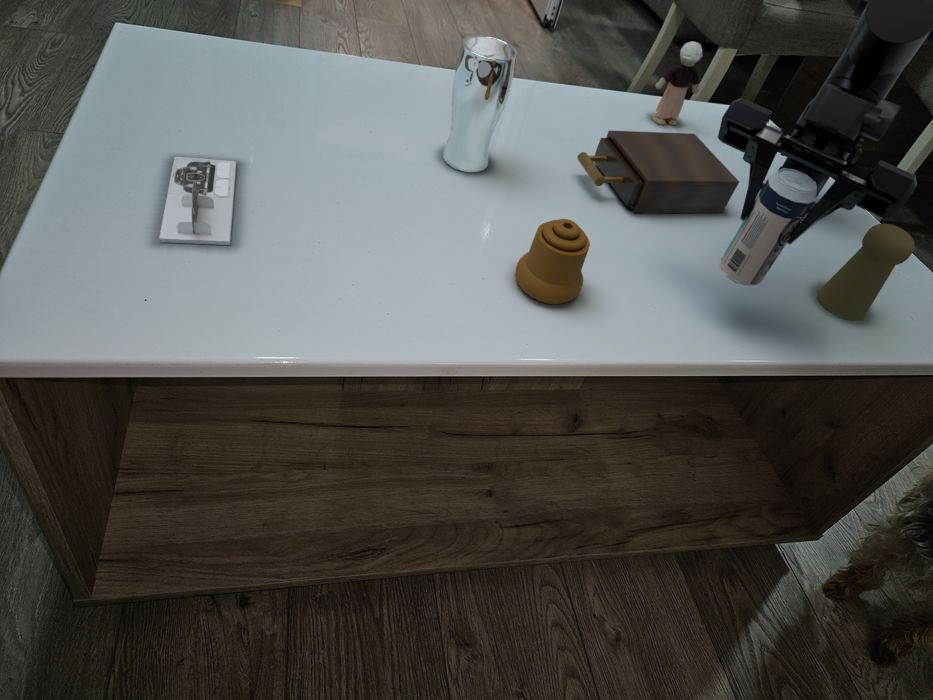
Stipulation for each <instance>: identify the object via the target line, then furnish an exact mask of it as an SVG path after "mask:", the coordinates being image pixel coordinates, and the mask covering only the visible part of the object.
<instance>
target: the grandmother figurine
mask: <svg viewBox="0 0 933 700" xmlns="http://www.w3.org/2000/svg"><path fill="white" fill-rule="evenodd" d="M679 56H680V63H681V65H675V66H673V67H672V66H671V68H669V69H668V70H667V71H666V72H665V73H664V74H662V75H661V78H660V79H659V81H658V82H656V83H655V89H657V90H661V89H662V88H663V86H664V85H666V84H667V83H668V84H667V86H666V89H665V90H664V93H663V95H662V97H661V98H660V101H659V102H658V103H657V106H656V109H655V112H656V113H653V115H651V119H652V120H653V121H654V122H655V123H656V124H658V125H661V126H665V125H666V124H668V125H671V126H677V125H678V120H677V119H678V118H679V116H680V114H681V111H682V109H683V106H684V102H685V98H686V96H687V95H686V94H687V91H688V88H689V86H690V84H691V87H692V91H691V92H692V93H693V94H694V95H697V94H699V92H700V88H699V87H700V77H699V76H700V75H699V73H698V70H697V68H695V67H693V66H694V65H696V63H697V62H699V61H701V59H702V58H703V48H702V45H701V43H699V42H697V41H693V40H692V41H688V42H686V43H684V45H683V46H682V47H681V48H680V53H679Z"/></svg>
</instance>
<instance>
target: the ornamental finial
mask: <svg viewBox="0 0 933 700" xmlns="http://www.w3.org/2000/svg"><path fill="white" fill-rule="evenodd" d="M590 247H591V242H590V239H589V238H588V236H587V234H586V233H585V231H584V230H583V229H582V228H581V227H580V226H579V225H578V224H577V222H575V221H574V220H571V219H568V218H559V219H553V220H549V221H546V222H543V223H541V224H540V225H539V226H538V228H537V229H536V232H535V234H534V237H533V240H532V242H531V245H530V247H529V250H528V252H526V253H525V254H524V255H522V256H521V257H520V258H519V260H518V262H517V263H516V266H515V278H516V282H517V284H518V286H519V287H520V288H521V290H522V291H523V292H524V293H525V294H526V295H527V296H529V297H530V298H532V299H534V300H536V301H538V302H541V303H545V304H550V305H560V304H565V303H569V302H570V301H572V300H574V299H575V298H576V297H578V295H580V293H581V291H582V289H583V285H584V276H583V272H582V269H583V267H584V263H585V261H586V258H587V255H588V252H589V251H590V250H589V249H590Z"/></svg>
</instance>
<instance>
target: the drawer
mask: <svg viewBox="0 0 933 700" xmlns="http://www.w3.org/2000/svg"><path fill="white" fill-rule="evenodd" d="M576 159H577V161H578V163H579V164H580V166H581V167H582V168H583V169H584V171H585V172H586V174H587V175H588V177H589V178H590V179H591V181H592V183H593V184H594V185H595V186H596V187H601V186H603V185H604V184H610V185H611V186H612V187H613V189H614V190H615V192H616V193H617V195H618V196H619V198H620V199H621V200H622V201H623V203H624V204H625V206H626V207H629V206H634V205H635V203H636V201H637V198H638V197H639V195H640V193H641V190H642V188H643V186H644V184H645V181H644V180H643V179H642V178H641V176H640V175H639V174H638V172H637V171H636V170H635V169H634V167H633V166H632V165H631V164H630V162H629V161H628V160H627V158H626V157H625V156H624V155H623V153H622V152H621V151H620V150H619V148H618V147H617V146H616V144H615V146H614V145H613V143H612V142H611V141H610V139H609V138H606V137H600V139H599V142H598V145H597V147H596V150H595V153H594V154H593V155H589V154H588V153H587V152H585V151H581V152H579V154H578V155H577V158H576ZM601 172H602V173H601Z"/></svg>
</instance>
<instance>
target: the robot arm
mask: <svg viewBox="0 0 933 700" xmlns="http://www.w3.org/2000/svg"><path fill="white" fill-rule="evenodd" d="M853 17H855V18H858V21H857V23H856V25H855V27H854V29H853V31H852V33H851V35H850V37H849V39H848V41H847V44H846V48H845V49H844V50H843V53H842V54H841V56H840V57H839V58H838V60H837V62H836V63H835V65H834V66H833V68H832V70H831V71H830V73H829V74H828V76H827V77H826V79H825V81H824V82H823V84H822V85H821V87H820V89H819V90H818V92H817V93H816V95H815V97H814V98H813V99H811V100H810V101H809V102H808V103H807V105H806V106H805V108H804V109H803V111H802V113H801V115H799V117H798V119H797V121H795V122H796V123H795V124H794V127H793V131H792V133H791V134H790V133H788V132H786V131H785V130H784V129H783V128H781V127H779V126H777V125H776V124H772V123H770V121H771V118H772V115H773V110H771V109H768V108H766V107H764V106H761V105H759V104H757V103H755V102H752V101H750V100H748V99H746V98H743V97H740V98H737V99H735V100H733V101H732V102H731V103H730V104H729V106H728V108H727V109H726V111H725V112H724V114H723V115H722V117H721V121H720V126H719V130H718V135H717V139H718V140H719V141H720V142H721V143H722V144H725V145H727V146H729V147H731V148H733V149H735V150H737V151H740V152H742V153H743V155H742V160H743V161H744V162H745V163H747V164H749V175H748V184H747V189H746V195H745V199H744V202H743V206H742V210H741V214H740V218H739V219H740V221H742V222H743V221H744V220H745V218H746V217H747V215H748V213H749V212H750V210H751V208H752V206H753V204H754V202H755V200H756V199H757V197H758V195H759V193H760V192H761V190H762V188H763V187H764V185H765V183H766V182H765V180H766V177H767V175H768V173H769V171H770V168H771V166H772V164H773V162H774V160H775V157H776V155H777V153H779V155H780V156H782V157H786V159H785V160H784V162H783V163H782V165H781V166H780V167H779V168H778V170H777V171H779V170H781V169H783V168H787V169H795V170H797V171H799V172H802V173H804V174H806V175H808V176H809V177H810V178H811V179H813V180H814V181H815V182H816V186H817V191H816V198H817V197H818V196H819V195H820V193H821V191H822V190H823V188H824V187H825V185H826V183H827V182H828V180H829V179H830V178H831V179H833V180H834V182H832V184H831V185H830V187H829V188H828V189H827V190H826V191H825V192H824V194H823V195H822V197H820V199H819V200H818V201H817V203H816V202H815V201H814V202H813V204H812V205H811V207H810V208H809V210H808V212H807V213H806V215H805V216H804V218H803V219H802V221H801V222H800V224H799V225H798V226H797V228H796V229H795V230H794V232H793V233H792V235H791V236H790V238H789V240H788V241H787V244H788V245H791V244H793V243H794V242H795V241H797V240H798V239H799V238H800V237H801V236H803V235H804V234H805V233H806V232H807V231H808V230H810V229H811V228H812V227H813V226H815V225H816V224H817V223H819V222H820V221H821V220H823V219H824V218H826V217H828V216H830V215H831V214H833V213H835V212H836V211H837V210H839V209H844V210H846V211H852V210H853V209H854V208H855V207H858V208H860V209H862V210H865V211H867V212H869V213H871V214H872V215H875V216H877V217H879V218H882V219H883V218H884V219H889V218H891V217H892V216H893V215H894V214H895V213H896V212H898V210H900V209H901V208H902V207H903V206H904V205H905V204H906V203H907V202H908V200H909V199H910V197H911V196H912V195H913V193H914V191H915V190H916V188H917V186H918V181H917V176H916V174H914V173H911V172H909V171H906V170H905V169H902V168H900V167H898V166H896V165H893V164H891V163H889V162H886V161H884V160H882V159H880V160H879V161H878V162H877V163H876V165H875V166H874V167H873V168H872V169H871V170H869V169H867V168H865V167H863V166H861V165H859V164H856V163H857V161H859V158H860V157H861V156H862V154H863V151H862V146H863V145H862V144H863V142H864V140H865V139H863V138H862V137H866V138H868V139H870V140H872V141H875V142H879V141H880V140H881V139H882V138H883V137H884V135H885V134H886V132H887V131H888V130H889V128H890V127H891V125H892V123H893V121H894V120H895V119H896V117H897V115H898V113H899V112H900V111H901V109H902V106H901V105H899V104H896V103H895V102H892V101H889V100H886V97H887V96H888V94H889V93H890V92H891V89H892V88H893V86H894V85H895V83H896V81H897V80H898V79H899V77H900V75H901V74H902V72H903V71H904V69H905V68H906V67H907V66H908V64H910V62H911V61H912V59H913V58H914V57H915V56H916V53H917V52H918V51H919V49H920V48H921V46H922V45H923V44H924V45H927V46H929V47H932V46H933V0H860V2H859V3H858V5H857V8H856V10H855V11H854V13H853Z"/></svg>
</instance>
